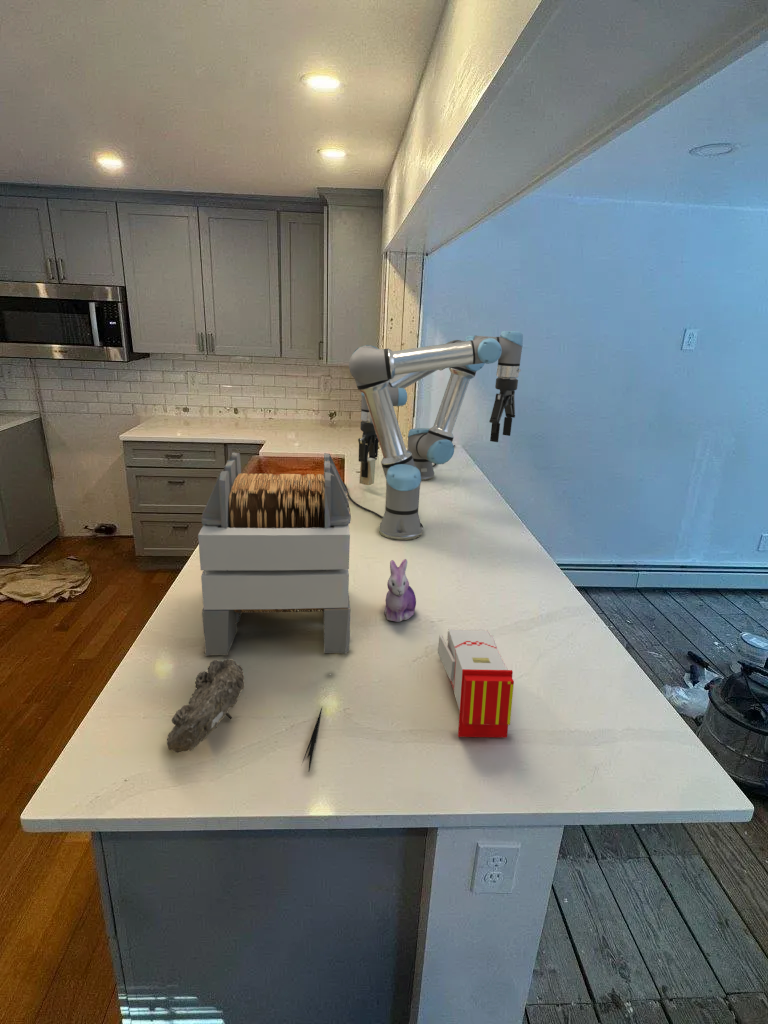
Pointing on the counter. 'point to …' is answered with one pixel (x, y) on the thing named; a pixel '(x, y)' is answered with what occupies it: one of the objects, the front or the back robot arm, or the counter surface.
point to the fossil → (206, 705)
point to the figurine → (399, 594)
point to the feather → (313, 740)
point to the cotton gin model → (275, 551)
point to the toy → (478, 682)
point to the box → (371, 472)
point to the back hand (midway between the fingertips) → (367, 475)
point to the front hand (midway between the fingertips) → (500, 438)
